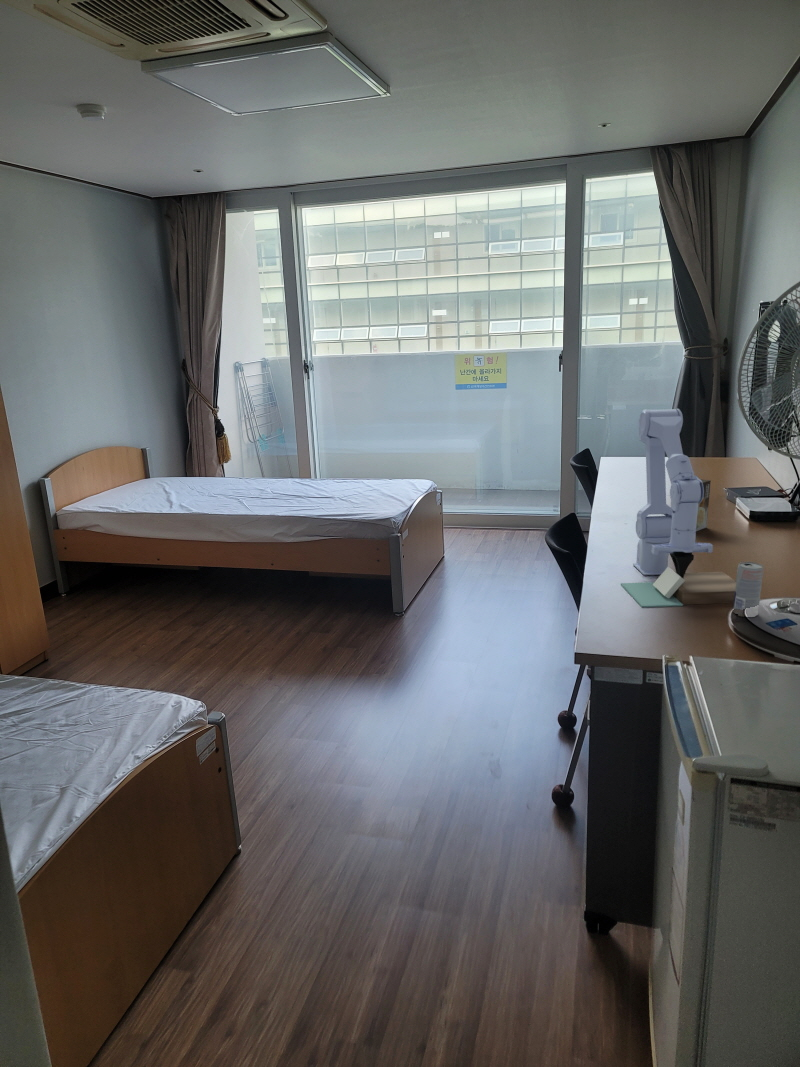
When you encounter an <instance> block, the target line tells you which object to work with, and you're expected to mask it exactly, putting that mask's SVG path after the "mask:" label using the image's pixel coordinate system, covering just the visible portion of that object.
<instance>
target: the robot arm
mask: <svg viewBox="0 0 800 1067" xmlns="http://www.w3.org/2000/svg"><path fill="white" fill-rule="evenodd" d="M683 417H684V416H683V413H682V411H681V409H680V408H674V409H673V408H670V409H668V408H666V409H665V408H664V409H648V408H647V409H646V408H645V409H643V410H642V412H640V415H639V419H638V437H639V441H640V442H642V443H643V444H644V448H645V466H646V467H645V468H646V470H645V471H646V472H645V473H646V501H647V503H646V504H645V505H644V506H643V507H641V508H640V509H639V510H638V511H637V513H636V522H635V533H636V536H637V537H638V538H639V540H638V542H637V546H636V548H637V549H636V562H633V563H632V565H633V566H634V567H635V568H636V569H637V570H638V571H639V572H640V573H641V574H642V575H643V576H658V575H659V576H660V575H661V574H662V573H663V572H664V571H665V570H666V568H667V567H669V565H668V564H669V556H670V558H671V559H672V563H673V565H674V568H675V569H674V570H675V572H676V573H677V574H678V575H679V576H681V577H682V578H684V574H685V573H687V569H688V567H689V566H690V564H691V563H692V562H693V561H694V560H695V559H694V558H695V555H694V554H693V553H707V554H708V553H709V554H711V553H713V550H714V545H713V544H712V543H710V542H696V535H697V534H696V533H697V531H696V525H697V513H698V503H700V502H701V501H702V500H703V496H704V487H703V483H702V481H701V480H700V479H701V478H699V476H697V475H695V472H694V469H693V465H692V462H691V460H690V457H689V456H688V455H685V454H684V452H683V448H682V443H681V438H680V433H681V431H682V427H683V423H684V418H683ZM666 456H667V458H668V459H667V460H666ZM666 471H667V473H668V474H667V475H668V478H669V481H670V487H669V488H670V489H669V497H670V505H669V504H667V490H666V489H667V488H666V487H667V485H666V484H667V483H666V482H667V481H666ZM649 515H650V516H649ZM651 515H654V516H651Z"/></svg>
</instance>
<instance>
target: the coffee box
mask: <svg viewBox="0 0 800 1067" xmlns="http://www.w3.org/2000/svg"><path fill="white" fill-rule="evenodd" d="M699 479H700V480H701V481H702V483H703V487H704V496H703V500H702V501H701V502H700V503H698V513H697V525H696V532H698V531H701V530H705V529H706V528H707V525H708V516H709V515H708V513H709V504H710V491H711V483H712V482H711V481H712V480H710V479H702V478H699Z"/></svg>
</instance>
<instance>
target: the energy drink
mask: <svg viewBox="0 0 800 1067" xmlns="http://www.w3.org/2000/svg"><path fill="white" fill-rule="evenodd" d="M763 575H764V568H763V565H762V563H758V562H753V561H741V562H739V563H738V566H737V569H736V580H735V581H736V587H735V596H734V603H733V606H732V610H733V609H740V610H743V609H746V608H750V607H755V606H757V605H759V606H760V601H761V593H762V592H761V591H762V584H763V578H764V577H763Z"/></svg>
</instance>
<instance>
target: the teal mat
mask: <svg viewBox="0 0 800 1067" xmlns="http://www.w3.org/2000/svg"><path fill="white" fill-rule="evenodd" d="M654 582H655V581H652V582H651V581H647V582H646V581H645V582H621V583H620V586H621V587H622V588H623V589H624V590H625V592H626V593H628V594H629V595H630V597H633V598H632V600H634V601H635V602H636V603H637V604H638V605H639V607H641V608H662V607H663V608H665V607H667V608H668V607H669V608H670V607H683V606H684V604H682V603H681V602H680V601H679V600H678V599H676V598H675V597H674V596H673V595H672V596H671V597H670V598H669V599H668V598H667V597H665V596H664V595H663V594H662V593H661V592H660V591H659V590H658V589H657V588H656V587H655V586H654V585H653V583H654Z"/></svg>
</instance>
